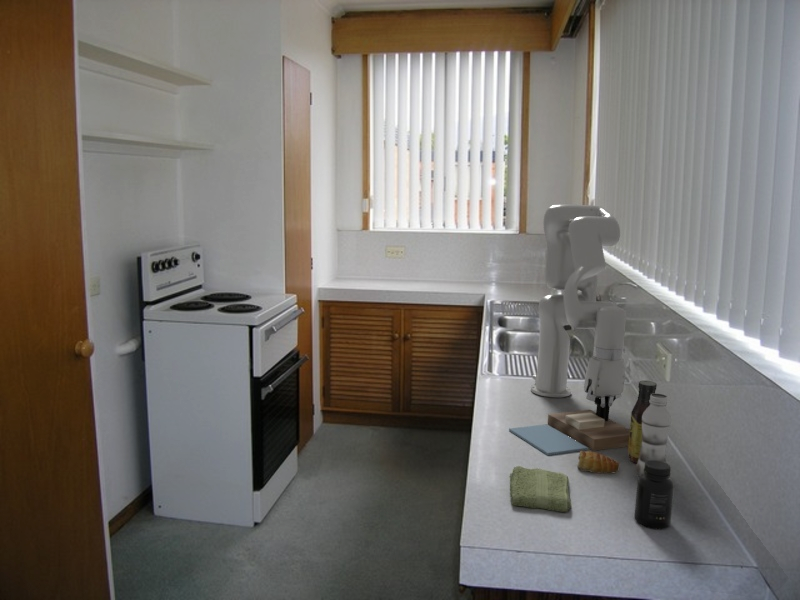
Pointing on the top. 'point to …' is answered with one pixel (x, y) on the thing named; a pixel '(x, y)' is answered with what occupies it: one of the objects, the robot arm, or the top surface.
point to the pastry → (597, 463)
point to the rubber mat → (548, 439)
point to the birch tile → (584, 421)
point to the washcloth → (539, 489)
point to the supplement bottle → (654, 496)
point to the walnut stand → (592, 432)
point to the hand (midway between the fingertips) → (602, 419)
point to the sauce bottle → (639, 418)
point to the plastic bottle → (654, 431)
